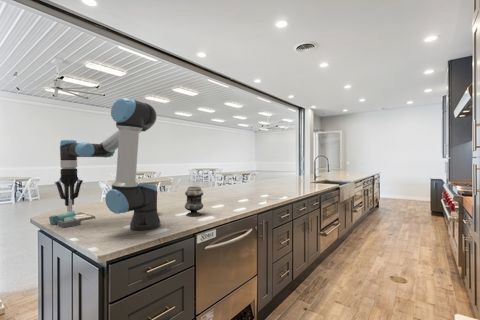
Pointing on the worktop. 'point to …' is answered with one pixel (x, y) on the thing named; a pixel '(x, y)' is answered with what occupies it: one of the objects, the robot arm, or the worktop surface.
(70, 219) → the button
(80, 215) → the clipboard
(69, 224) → the button housing
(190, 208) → the apothecary jar
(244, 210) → the worktop surface
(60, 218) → the teal square-headed peg
